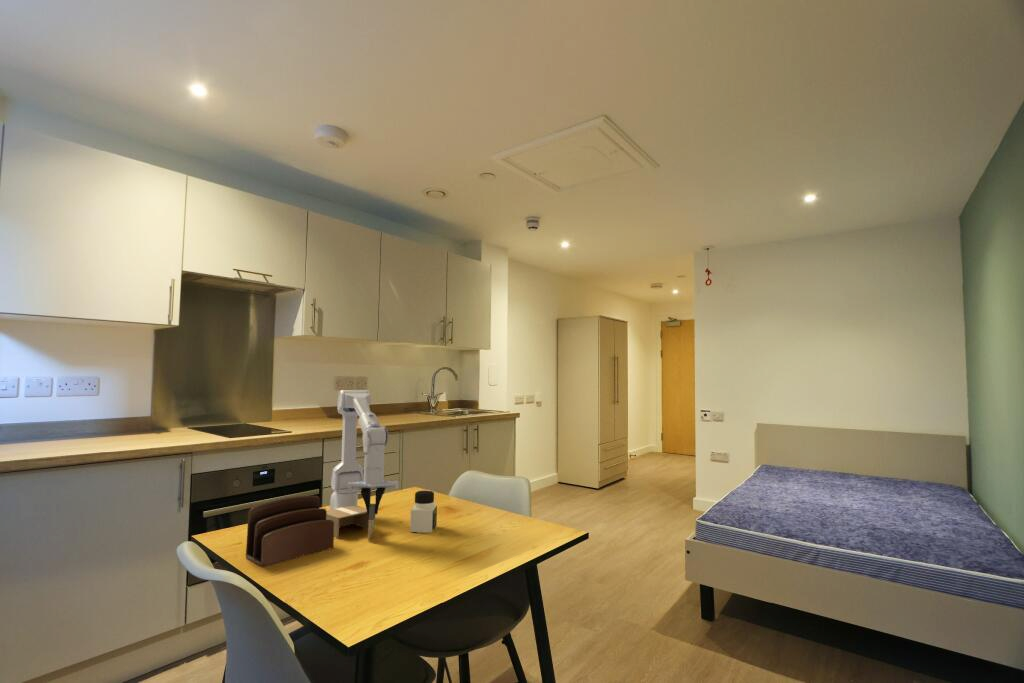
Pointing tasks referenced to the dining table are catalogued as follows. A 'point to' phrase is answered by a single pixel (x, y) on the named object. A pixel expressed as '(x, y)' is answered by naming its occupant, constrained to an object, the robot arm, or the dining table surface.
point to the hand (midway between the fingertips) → (372, 513)
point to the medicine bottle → (423, 513)
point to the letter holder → (287, 530)
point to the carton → (348, 517)
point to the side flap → (371, 520)
